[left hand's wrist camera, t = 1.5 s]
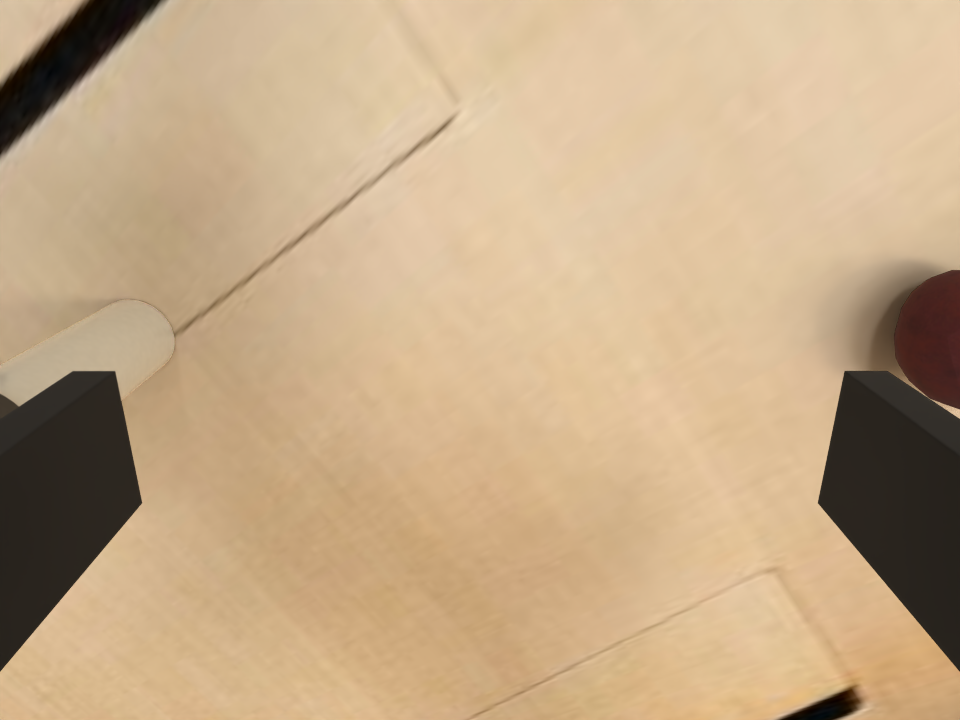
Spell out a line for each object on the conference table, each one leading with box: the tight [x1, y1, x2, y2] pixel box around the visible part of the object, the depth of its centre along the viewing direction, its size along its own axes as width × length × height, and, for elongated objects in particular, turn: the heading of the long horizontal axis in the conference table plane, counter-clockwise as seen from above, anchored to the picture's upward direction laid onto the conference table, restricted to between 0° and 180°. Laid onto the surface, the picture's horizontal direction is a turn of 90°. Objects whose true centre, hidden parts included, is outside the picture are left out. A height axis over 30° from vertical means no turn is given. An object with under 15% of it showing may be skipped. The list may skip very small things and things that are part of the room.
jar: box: [0, 299, 175, 406], centre depth 34 cm, size 5×5×15 cm
